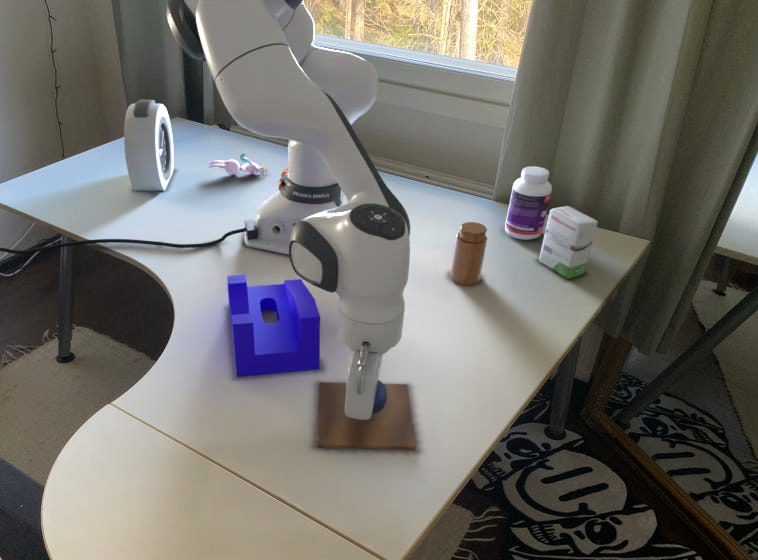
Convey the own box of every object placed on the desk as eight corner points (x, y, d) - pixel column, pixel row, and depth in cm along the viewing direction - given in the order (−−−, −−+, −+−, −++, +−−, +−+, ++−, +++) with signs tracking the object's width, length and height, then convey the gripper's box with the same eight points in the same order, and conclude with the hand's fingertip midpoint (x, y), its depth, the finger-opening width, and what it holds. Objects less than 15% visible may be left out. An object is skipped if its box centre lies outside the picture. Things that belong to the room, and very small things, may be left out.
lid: (393, 400, 100) (395, 388, 98) (369, 420, 96) (370, 408, 94) (361, 382, 103) (362, 371, 101) (336, 401, 99) (337, 390, 98)
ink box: (585, 274, 134) (600, 220, 127) (566, 279, 133) (581, 225, 125) (555, 255, 141) (568, 203, 133) (536, 260, 139) (549, 208, 132)
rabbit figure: (263, 173, 179) (207, 167, 176) (266, 151, 176) (209, 145, 173) (265, 182, 175) (208, 176, 171) (268, 160, 171) (209, 154, 168)
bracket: (319, 369, 110) (320, 316, 104) (237, 377, 109) (232, 324, 102) (301, 301, 127) (300, 252, 120) (229, 307, 125) (225, 258, 119)
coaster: (317, 447, 96) (317, 444, 96) (319, 385, 107) (319, 382, 107) (414, 449, 95) (415, 446, 95) (406, 387, 107) (407, 384, 106)
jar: (450, 283, 132) (458, 233, 125) (450, 269, 136) (458, 219, 129) (480, 286, 131) (489, 235, 124) (479, 271, 135) (488, 222, 129)
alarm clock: (161, 197, 164) (150, 116, 152) (131, 197, 164) (117, 115, 152) (176, 164, 181) (166, 89, 169) (148, 164, 181) (137, 88, 169)
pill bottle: (542, 243, 145) (557, 180, 136) (504, 240, 146) (517, 177, 137) (539, 227, 151) (554, 165, 142) (503, 223, 152) (515, 162, 144)
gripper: (385, 373, 82) (377, 452, 91) (399, 288, 98) (392, 361, 107) (335, 367, 83) (332, 445, 92) (357, 283, 99) (353, 357, 108)
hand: (364, 400), depth 99 cm, fingers closed on lid, 6 cm apart
